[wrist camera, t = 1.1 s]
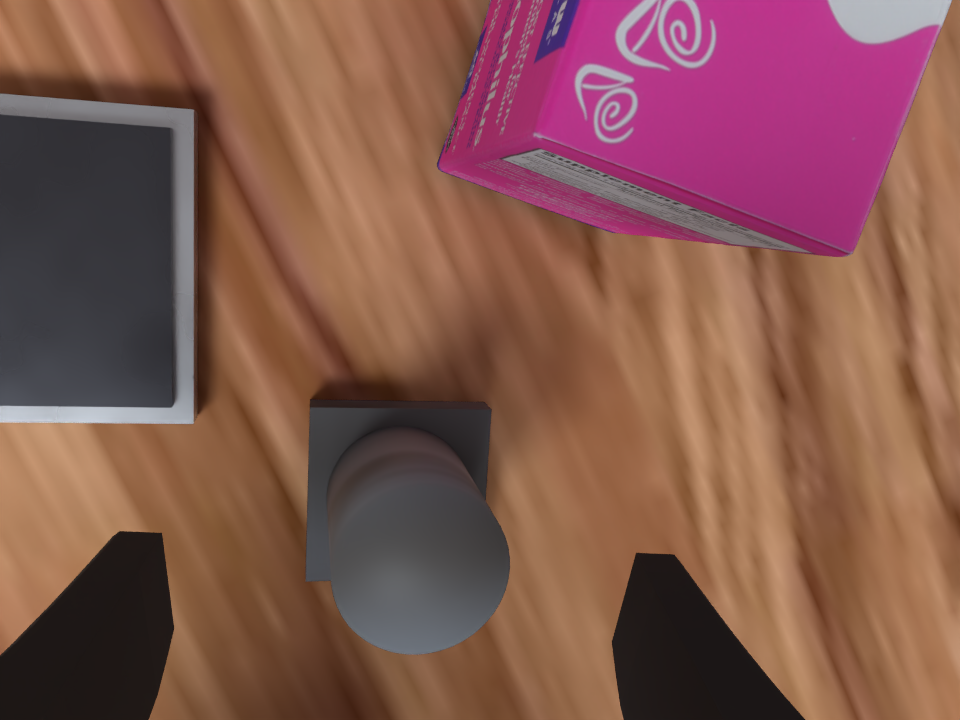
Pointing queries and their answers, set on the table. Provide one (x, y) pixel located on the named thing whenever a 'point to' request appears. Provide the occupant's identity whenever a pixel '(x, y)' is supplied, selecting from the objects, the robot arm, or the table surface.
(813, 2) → the supplement box
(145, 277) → the ink pad
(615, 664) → the robot arm
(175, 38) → the table surface
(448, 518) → the stamp
